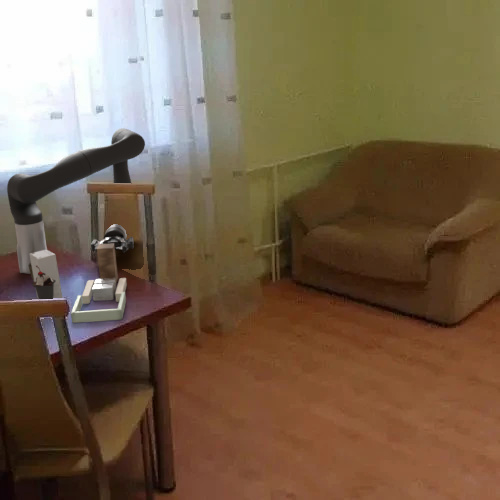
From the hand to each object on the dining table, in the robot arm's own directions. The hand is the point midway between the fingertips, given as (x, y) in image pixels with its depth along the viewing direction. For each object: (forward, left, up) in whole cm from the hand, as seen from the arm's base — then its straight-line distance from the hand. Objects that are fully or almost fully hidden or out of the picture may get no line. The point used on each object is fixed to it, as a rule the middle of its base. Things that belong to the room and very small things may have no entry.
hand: (110, 250), depth 256 cm
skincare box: (-17, -24, -7) cm, 30 cm away
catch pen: (0, -38, -7) cm, 38 cm away
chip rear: (0, -21, -7) cm, 22 cm away
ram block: (0, -11, -7) cm, 13 cm away
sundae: (-15, -37, -7) cm, 41 cm away
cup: (-21, -12, -7) cm, 25 cm away
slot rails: (0, -23, -7) cm, 24 cm away
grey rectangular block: (0, -26, -7) cm, 27 cm away
